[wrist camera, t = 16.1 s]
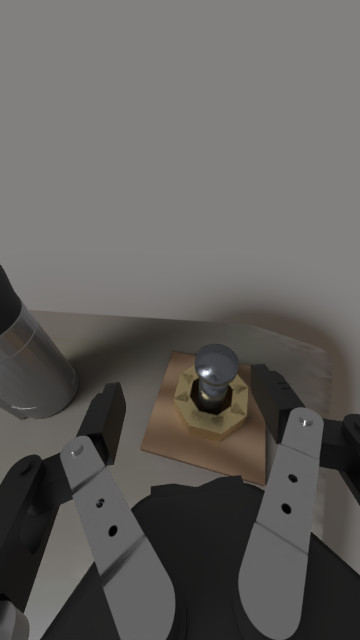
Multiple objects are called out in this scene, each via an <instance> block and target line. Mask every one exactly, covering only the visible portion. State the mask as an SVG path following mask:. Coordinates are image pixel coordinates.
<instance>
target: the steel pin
mask: <svg viewBox="0 0 360 640" xmlns="http://www.w3.org/2000/svg"><path fill="white" fill-rule="evenodd" d="M238 369H239V360H238V358H237V356H236V354H235V353H234V352H233V351H232V350H231V349H230V348H228V347H226V346H224V345H220V344H210V345H207V346H204V347H203V348H201V349H200V350H199V351H198V352H197V354H196V356H195V371H196V374H197V376H198V377H199V395H198V408H199V411H200V412H205V413H209V414H213V415H219V414H220V413H221V411H222V407H223V404H224V400H225V396H226V392H227V388H228V384H229V383H231V382H232V381H233V380H234V379H235V377H236V375H237V372H238Z"/></svg>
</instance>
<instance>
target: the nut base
mask: <svg viewBox="0 0 360 640" xmlns="http://www.w3.org/2000/svg"><path fill="white" fill-rule="evenodd" d="M195 356H196V355H191V354H186V353H181V352H175V351H173V352H172V355H171V358H170V361H169V364H168V367H167V370H166V373H165V376H164V379H163V382H162V385H161V388H160V391H159V394H158V397H157V400H156V403H155V406H154V409H153V412H152V415H151V418H150V421H149V424H148V427H147V430H146V433H145V436H144V439H143V442H142V445H141V448H140V449H141V450H142V451H146V452H149V453H153V454H156V455H159V456H163V457H166V458H170V459H173V460H176V461H180V462H183V463H187V464H190V465H194V466H197V467H200V468H204V469H207V470H211V471H214V472H217V473H221V474H224V475H228V476H236V475H241V476H242V480H245V481H248V482H251V483H255V484H258V485H262V486H264V485H265V420H264V418H263V415H262V413H261V411H260V409H259V407H258V405H257V403H256V401H255V399H254V397H253V395H252V392H251V385H250V383H251V366H248V365H242V364H239V369H238V372H237V375H236V377H235V379H234V380H233V381H232V382H231V383H229V384H228V388H227V392H226V396H225V400H224V404H223V407H222V411H221V413H220V414H219V415H213V414H209V413H205V412H200V411H199V408H198V395H199V377H198V376H197V374H196V371H195Z"/></svg>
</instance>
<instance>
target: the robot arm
mask: <svg viewBox="0 0 360 640" xmlns="http://www.w3.org/2000/svg"><path fill="white" fill-rule="evenodd" d="M250 385H251V392H252V395H253V397H254V399H255V401H256V403H257V405H258V407H259V409H260V411H261V413H262V415H263V418H264V420H265V422H266V424H267V426H268V428H269V430H270V432H271V434H272V436H273V438H274V440H275V442H276V444H279V446H278V449H277V453H276V456H275V459H274V463H273V466H272V470H271V473H270V476H269V480H268V483H267V486H266V490H265V491H264V490H262V489H260V488H258V487H256V486H254V485H251V484H247V483H243V480H242V476H241V475H236V476H229V477H221V478H217V479H215V480H213V481H210V482H208V483H206V484H203V485H201V486H199V487H191V486H185V485H178V484H166V485H159V486H151V495H149V496H147V497H145V498H144V499H142V500H141V501H139V502H138V503H137V504H136V505H135V506H134V507H133V508H132V509H130V508H129V506H128V504H127V502H126V500H125V499H124V497H123V495H122V493H121V491H120V490H119V488H118V486H117V484H116V482H115V480H114V479H113V477H112V475H111V473H110V471H109V470H108V468H107V466H108V465H114V461H115V457H116V452H117V448H118V444H119V439H120V435H121V430H122V426H123V422H124V417H125V413H126V402H125V398H124V395H123V392H122V388H121V385H120V383H119V382H116V383H109V384H106V385H105V388H104V390H103V393H99V394H97V395H96V396H95V397H94V398H93V400H92V401H91V403H90V406H89V409H88V410H87V413H86V415H85V417H84V420H83V422H82V424H81V426H80V429H79V431H78V433H77V436H76V438H74V439H72V440H70V441H69V442H68V443H67V444H66V445H65V446H64V447H63V449H62V451H61V452H60V453H58V454H56V455H54V456H51V457H49V458H46V459H44V460H42V459H41V458H40V456H38V455H29V456H26V457H24V458H22V459H21V460H19V461H18V462H17V463H15V464H14V465H13V466H12V467H11V469H10V470H9V471H8V473H7V475H6V476H5V478H4V480H3V481H2V483H1V485H0V640H28V638H29V621H28V619H27V617H26V616H25V615H24V611H25V608H26V605H27V602H28V599H29V596H30V593H31V590H32V587H33V584H34V581H35V578H36V575H37V572H38V569H39V566H40V563H41V560H42V557H43V554H44V551H45V548H46V545H47V542H48V539H49V536H50V533H51V530H52V527H53V524H54V521H55V518H56V515H57V512H58V509H59V506H60V505H61V504H63V503H65V502H67V501H69V500H71V499H73V500H74V503H75V506H76V509H77V511H78V514H79V517H80V520H81V523H82V526H83V529H84V531H85V534H86V537H87V540H88V543H89V546H90V549H91V552H92V554H93V557H94V560H95V561H94V562H93V564H92V565H91V567H90V568H89V570H88V571H87V572H86V574H85V575H84V577H83V578H82V580H81V581H80V583H79V584H78V585H77V587H76V588H75V590H74V591H73V593H72V594H71V596H70V597H69V598H68V600H67V601H66V603H65V604H64V606H63V607H62V609H61V610H60V611H59V613H58V614H57V616H56V617H55V619H54V620H53V622H52V623H51V625H50V626H49V627H48V629H47V630H46V632H45V633H44V635H43V636H42V638H41V639H40V640H360V575H359V574H358V573H357V572H355V571H354V570H353V569H352V568H351V567H350V566H349V565H348V564H347V563H346V562H344V561H343V560H342V559H341V558H340V557H339V556H338V555H337V554H335V553H334V552H333V551H332V550H331V549H330V548H329V547H328V546H327V545H325V544H324V543H323V542H322V541H321V540H320V539H319V538H318V537H317V536H316V535H314V534H313V533H312V532H311V526H312V518H313V510H314V502H315V494H316V486H317V478H318V470H319V466H320V467H325V468H330V469H336V470H338V471H339V473H340V474H341V476H342V478H343V479H344V481H345V483H346V484H347V486H348V487H349V489H350V491H351V492H352V494H353V495H354V497H355V499H356V500H357V502H358V503H359V505H360V415H359V414H349V415H347V416H345V417H344V420H343V422H342V421H335V420H328V419H323V418H321V416H320V415H319V414H318V413H316V412H315V411H313V410H311V409H308V408H306V407H305V406H304V404H303V403H302V402H301V400H300V399H299V398H298V396H297V395H296V394H295V392H294V391H293V390H292V389H291V387H290V386H289V384H288V383H287V382H286V380H285V379H284V378H283V376H282V375H280V374H279V373H277V372H276V371H269V370H268V368H267V367H266V365H265V364H256V365H251V383H250ZM78 386H79V378H78V375H77V373H76V371H75V370H74V368H73V367H72V366H71V364H70V363H69V362H68V361H67V359H66V358H65V357H64V355H63V354H62V353H61V352H60V350H59V349H58V348H57V346H56V345H55V344H54V342H53V341H52V340H51V339H50V337H49V336H48V335H47V333H46V332H45V331H44V329H43V328H42V327H41V326H40V324H39V323H38V322H37V320H36V319H35V318H34V316H33V315H32V314H31V313H30V311H29V310H28V309H27V307H26V306H25V305H24V303H23V302H22V301H21V300H20V298H19V297H18V296H17V294H16V293H15V292H14V290H13V288H12V286H11V284H10V282H9V279H8V277H7V275H6V273H5V271H4V269H3V268H2V266H1V265H0V407H1V408H2V409H4V410H5V411H7V412H9V413H10V414H12V415H14V416H15V417H17V418H19V419H24V418H26V417H31V418H35V419H39V418H46V417H50V416H52V415H54V414H56V413H58V412H59V411H61V410H62V409H64V408H65V407H66V406H67V405H68V404H69V403H70V402H71V401H72V399H73V398H74V396H75V394H76V392H77V390H78Z"/></svg>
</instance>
